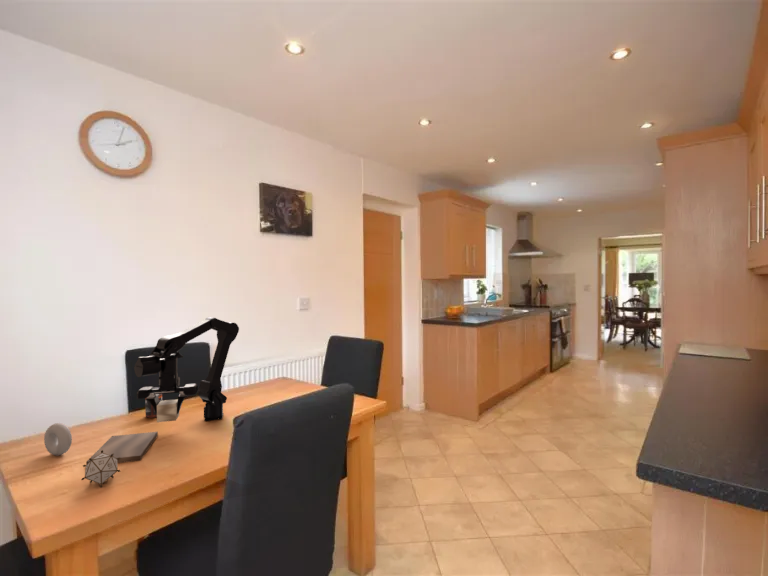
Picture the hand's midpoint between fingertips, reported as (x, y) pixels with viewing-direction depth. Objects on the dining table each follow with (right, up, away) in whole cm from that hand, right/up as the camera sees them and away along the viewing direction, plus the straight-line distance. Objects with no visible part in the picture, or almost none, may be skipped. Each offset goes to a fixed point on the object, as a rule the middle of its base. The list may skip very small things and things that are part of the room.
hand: (168, 414), depth 138 cm
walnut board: (-6, -7, -14) cm, 17 cm away
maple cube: (0, -2, 0) cm, 2 cm away
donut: (-25, -7, -18) cm, 31 cm away
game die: (+2, -7, -35) cm, 36 cm away
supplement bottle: (-16, -7, +18) cm, 25 cm away
